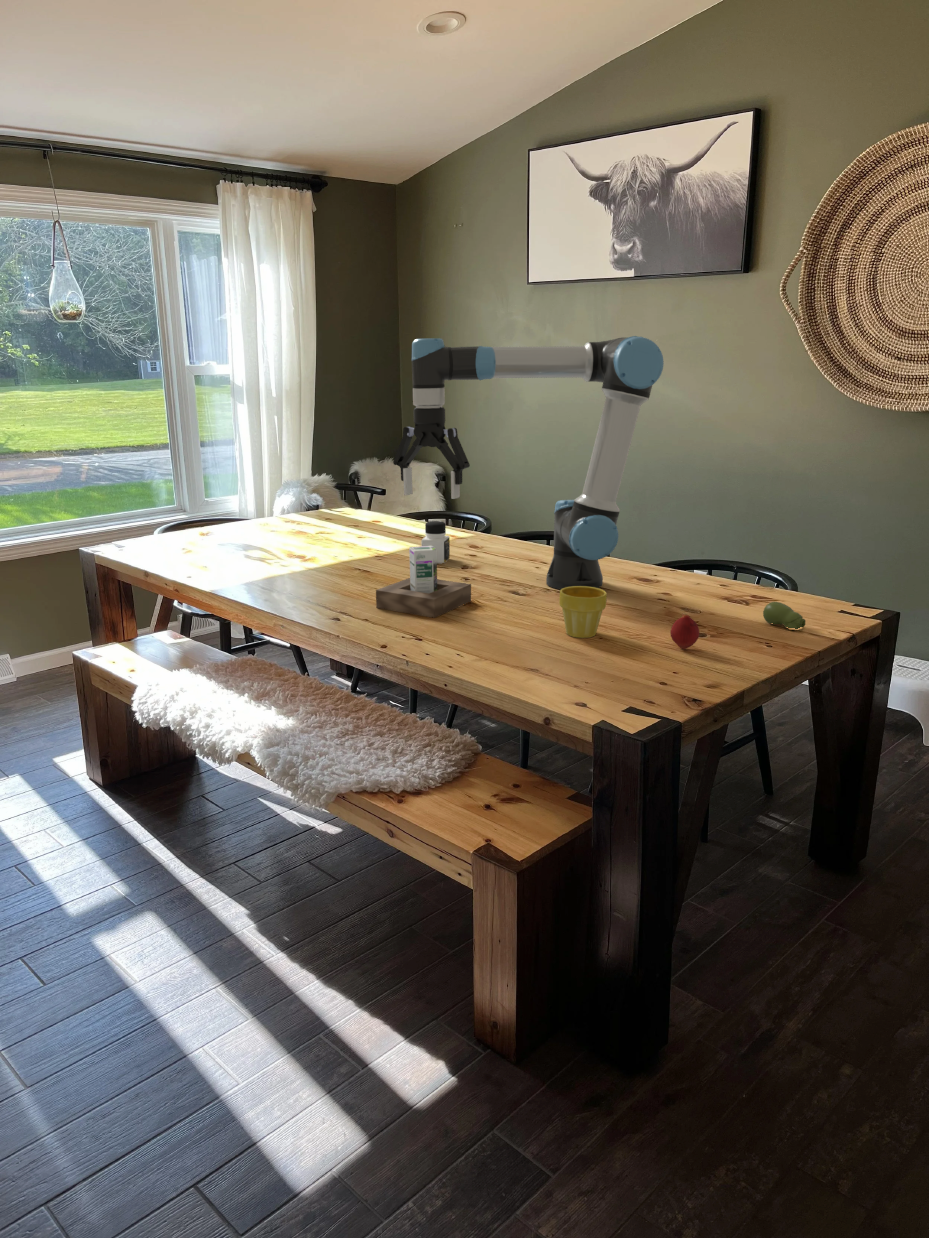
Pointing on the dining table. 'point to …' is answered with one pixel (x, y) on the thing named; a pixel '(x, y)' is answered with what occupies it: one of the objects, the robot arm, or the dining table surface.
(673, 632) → the onion
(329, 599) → the dining table surface
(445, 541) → the medicine bottle
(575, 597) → the plant pot
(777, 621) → the pear
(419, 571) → the syrup box
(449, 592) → the socket block
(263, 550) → the dining table surface
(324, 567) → the dining table surface
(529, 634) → the dining table surface
